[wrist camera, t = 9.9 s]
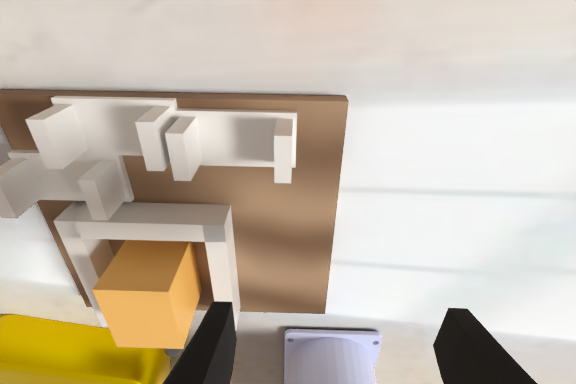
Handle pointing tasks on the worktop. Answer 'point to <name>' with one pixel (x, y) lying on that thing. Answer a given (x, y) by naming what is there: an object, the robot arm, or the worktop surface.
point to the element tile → (72, 355)
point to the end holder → (151, 226)
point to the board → (235, 196)
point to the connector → (150, 294)
